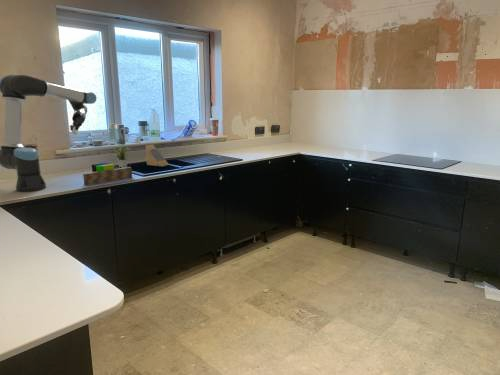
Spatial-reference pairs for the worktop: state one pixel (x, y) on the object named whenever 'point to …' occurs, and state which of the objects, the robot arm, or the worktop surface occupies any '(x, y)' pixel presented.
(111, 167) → the puzzle toy
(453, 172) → the worktop surface
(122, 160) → the house plant
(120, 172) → the walnut board
